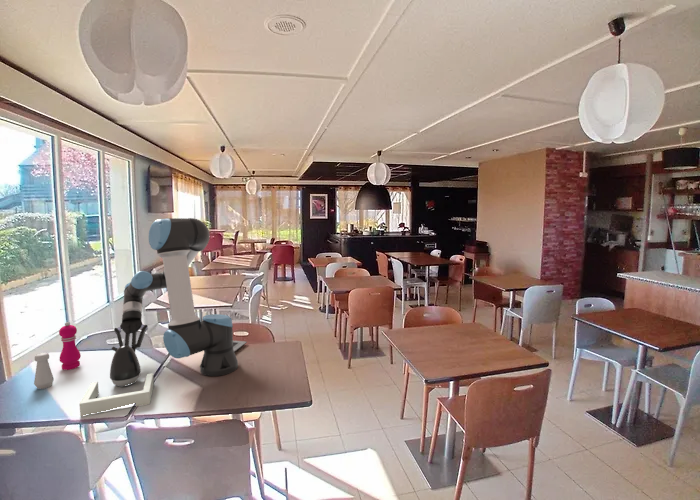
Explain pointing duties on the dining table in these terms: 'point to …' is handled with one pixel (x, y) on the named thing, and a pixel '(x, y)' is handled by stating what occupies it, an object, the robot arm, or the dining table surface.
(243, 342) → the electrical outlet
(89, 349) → the dining table surface
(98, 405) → the bay
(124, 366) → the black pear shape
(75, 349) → the pepper mill
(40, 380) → the salt shaker
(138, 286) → the robot arm
